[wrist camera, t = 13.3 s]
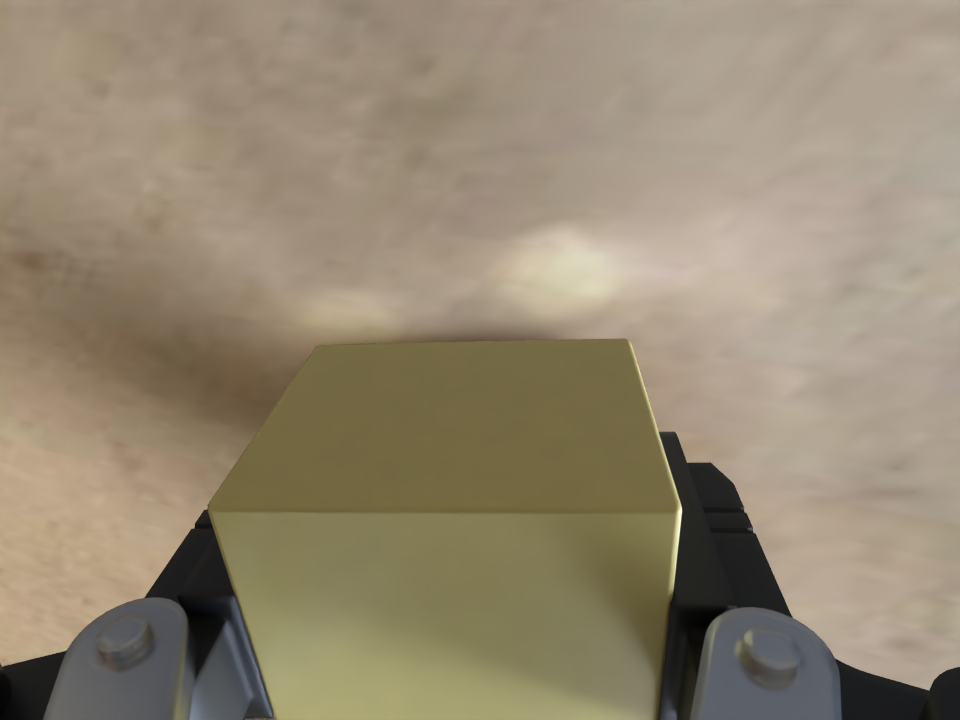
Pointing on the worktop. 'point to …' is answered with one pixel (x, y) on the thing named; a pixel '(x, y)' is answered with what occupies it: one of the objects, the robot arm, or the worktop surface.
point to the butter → (456, 535)
